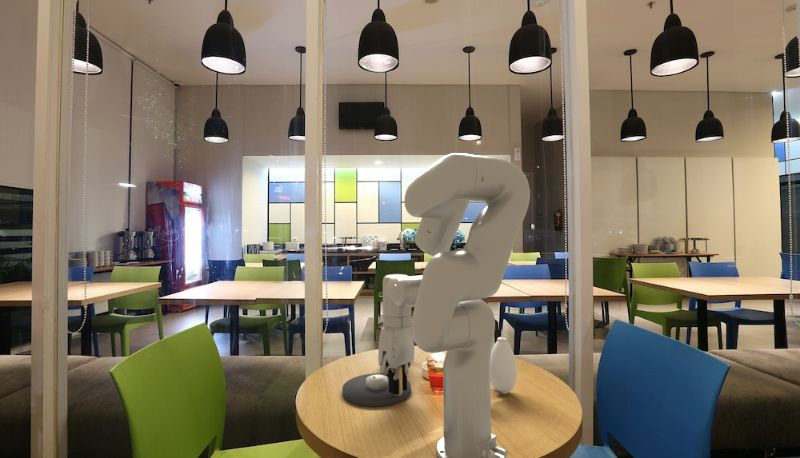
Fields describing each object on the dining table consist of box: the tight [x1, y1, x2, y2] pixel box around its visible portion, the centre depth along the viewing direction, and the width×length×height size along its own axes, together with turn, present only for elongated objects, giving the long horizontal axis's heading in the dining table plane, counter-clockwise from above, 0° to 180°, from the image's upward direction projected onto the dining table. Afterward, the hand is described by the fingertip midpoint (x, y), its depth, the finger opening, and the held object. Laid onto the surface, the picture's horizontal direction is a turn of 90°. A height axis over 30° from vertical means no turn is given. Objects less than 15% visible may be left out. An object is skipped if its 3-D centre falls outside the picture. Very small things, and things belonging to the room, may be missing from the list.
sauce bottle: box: [490, 329, 518, 395], centre depth 105 cm, size 8×8×18 cm
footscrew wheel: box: [342, 366, 412, 408], centre depth 103 cm, size 19×19×8 cm
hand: (397, 390), depth 98 cm, fingers closed on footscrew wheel, 2 cm apart
